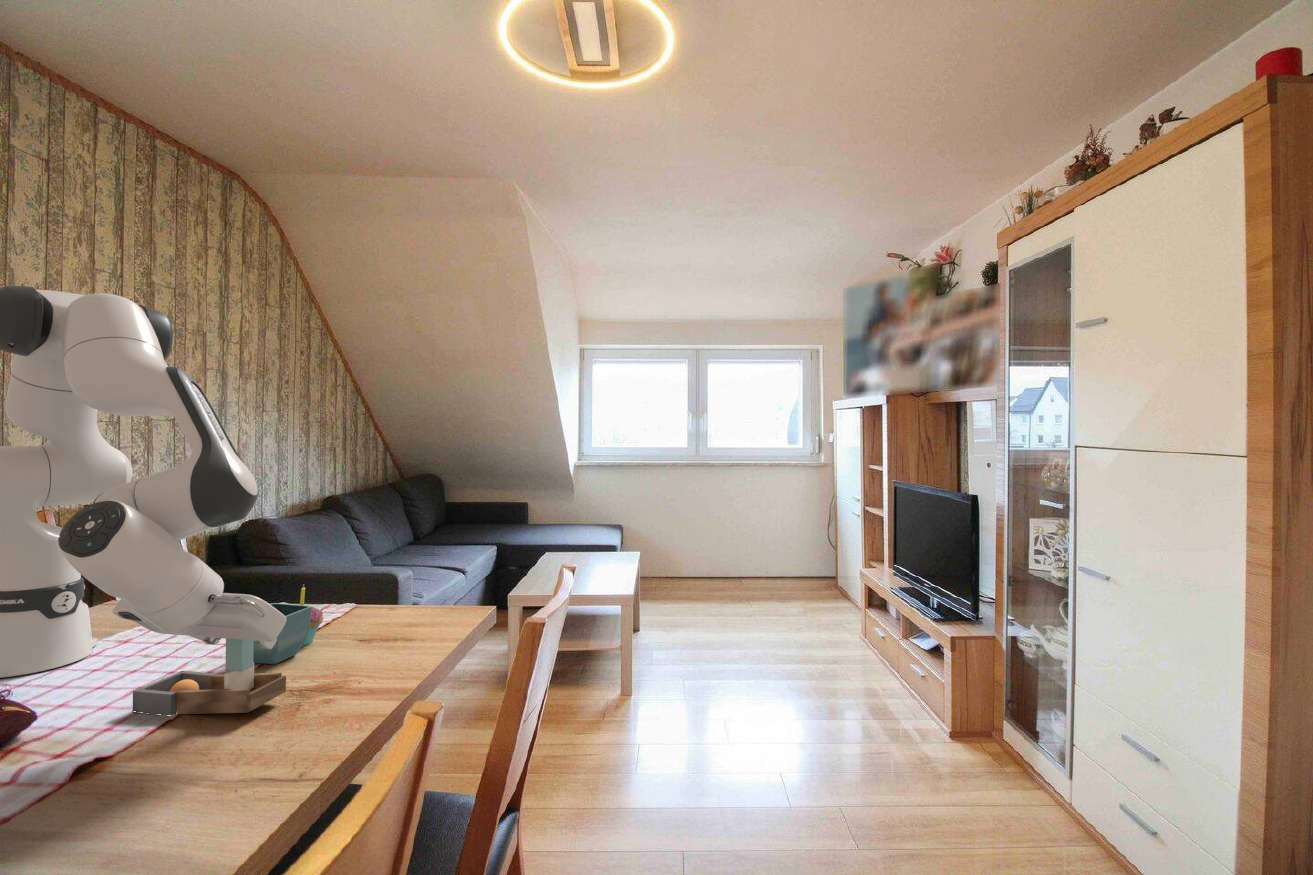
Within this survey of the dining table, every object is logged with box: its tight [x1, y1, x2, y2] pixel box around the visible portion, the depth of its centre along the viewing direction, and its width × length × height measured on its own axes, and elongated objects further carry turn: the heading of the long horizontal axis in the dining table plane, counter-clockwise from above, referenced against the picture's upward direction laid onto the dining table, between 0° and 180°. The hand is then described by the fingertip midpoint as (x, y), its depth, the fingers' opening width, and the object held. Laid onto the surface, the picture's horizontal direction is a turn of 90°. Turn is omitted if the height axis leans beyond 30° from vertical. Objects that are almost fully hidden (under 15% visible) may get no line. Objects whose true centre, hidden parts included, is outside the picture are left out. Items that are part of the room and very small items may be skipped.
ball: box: [170, 679, 199, 692], centre depth 89 cm, size 4×4×4 cm
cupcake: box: [299, 584, 324, 646], centre depth 115 cm, size 9×8×12 cm
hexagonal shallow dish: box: [175, 672, 287, 715], centre depth 88 cm, size 13×6×4 cm, turn 81°
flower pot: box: [253, 602, 313, 665], centre depth 107 cm, size 9×9×9 cm
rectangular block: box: [223, 638, 255, 689], centre depth 87 cm, size 3×4×11 cm, turn 171°
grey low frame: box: [132, 670, 219, 716], centre depth 89 cm, size 7×8×3 cm
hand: (243, 641), depth 88 cm, fingers open, 8 cm apart
